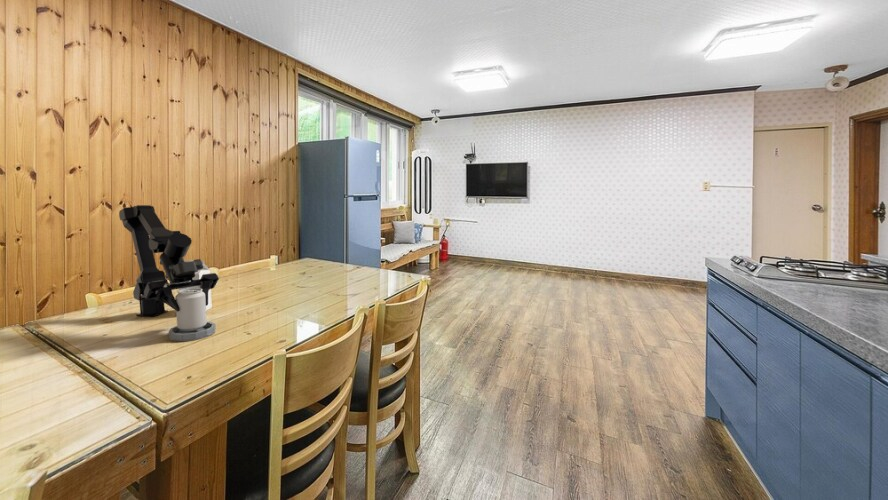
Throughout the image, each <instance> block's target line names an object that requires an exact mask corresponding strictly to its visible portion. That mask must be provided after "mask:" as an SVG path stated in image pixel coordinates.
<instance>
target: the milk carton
mask: <svg viewBox="0 0 888 500" xmlns="http://www.w3.org/2000/svg"><path fill="white" fill-rule="evenodd" d="M184 261H185V262H192V261H194V259H193V260H185V259H184ZM201 261H202V264H203V268H202V269H201V270H198V272H195V277H194V278H192V279H193V280H198V279H201V277H202V275H203V274H210V273H211V269H210V268H209V267H208V266H207V265H206V264H205V260H201ZM188 288H199V286H194V287H188ZM188 288H182V289H188ZM182 289H178V291H179V290H182ZM212 302H213V301H212V289H209V291H208V305H207V306H206V312H207V311H209V310H211V309H213V307H212V304H213V303H212Z"/></svg>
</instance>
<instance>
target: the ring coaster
mask: <svg viewBox="0 0 888 500" xmlns="http://www.w3.org/2000/svg"><path fill="white" fill-rule="evenodd" d="M215 333H216V323H214V322H213V321H207V323H206V325H205V326H204V327H203V328H201V329H198V330H193V331H182V330H181V329H179V328H178V327H177V325H176V326H173V327H171V328H170V329H169V330H168V337H169V339H170V340H171V341H173V342H191V341H192V342H193V341H197V340H201V339H205V338H208V337H211V336H212V335H214V334H215Z"/></svg>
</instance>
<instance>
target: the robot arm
mask: <svg viewBox="0 0 888 500" xmlns="http://www.w3.org/2000/svg"><path fill="white" fill-rule="evenodd" d="M155 211H156V210H155V208H154V206H153V205H150V204H145V205H142V204H137V205H134V206H130V207H129V206H124V207H123V208H122V209H120V210H119V212H118V218H119V220H120V221H122V222H121V223H122V226H123V227H124V228H125V229H126V230H128V232H129V233H130V234H131V238H132V242H133V246H134V250H135V254H136V259H137V263H138V267H139V268H138V269H139V271H140V272H139V274H138V276H137V278H136V284H135V286H134V289H133V292H132V295H133V298H134V300H137V301H139V310H140V311H139V313H136V316H137V317H146V318H148V317H150V318H153V317H157V316H159V315H162V314H166V313H168V312H169V310H167V309H165V304H166V305H167V306H169V307H170V308H171V309H173V310H174V311H175V312H176V311H177V312H178V311H179V310H180V309H179V306H178V304H177V302H176V299H175V296H174V294H173V290H179V289H182V288H188V287H194V286H199V288H201V289H202V292H204V293H205V299H206V306H207V305H208V291H209V289H211V290H212V289H214V288H215V286H217V284H218V282H219V280H220V277H219V276H218V274H217V273H215V272H210V274H203V275H202V277H201V279H198V280H193V279H192V278H194V277H195V272H198V270H201V269H202V268H203V264H202V261H203V260H201V258H199V259H193V261H192V262H185V261H184V260H185V259H184V257H186V255H187V253H188V251H189V250H190V247H191V244H192V242H193V241H192V238H191V237H189V236H188V235H186V234H184V233H182V232H181V231H180V230H169V229H167V228H166V226H165V225H164V224H163V222H162V220H161V219H160V218H159V216H158V214H157V213H156V212H155ZM154 254H160V255H159V257H158V258H159V264H160V265H161V266H162V268H163V270H160V268H158V267H157V263H156V260H155V259H156V258H155V256H154ZM167 279H168V280H167Z"/></svg>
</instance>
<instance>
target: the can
mask: <svg viewBox="0 0 888 500" xmlns="http://www.w3.org/2000/svg"><path fill="white" fill-rule="evenodd" d="M174 298H175V300H176V302H177V304H178V306H179V309H180V310H179V311H178V312H177V311H176V310H175V313H176V314H175V315H176V326H177V327H178V328H179V329H181V330H182V331H193V330H198V329H201V328H203V327H204V326H205V325H206V323H207V322H208V321H207V320H208V319H207V311H206V299H205V293H204V292H202V289H201V288H188V289H182V290H179V289H178V290H177V294H176V295H175V296H174Z"/></svg>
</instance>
